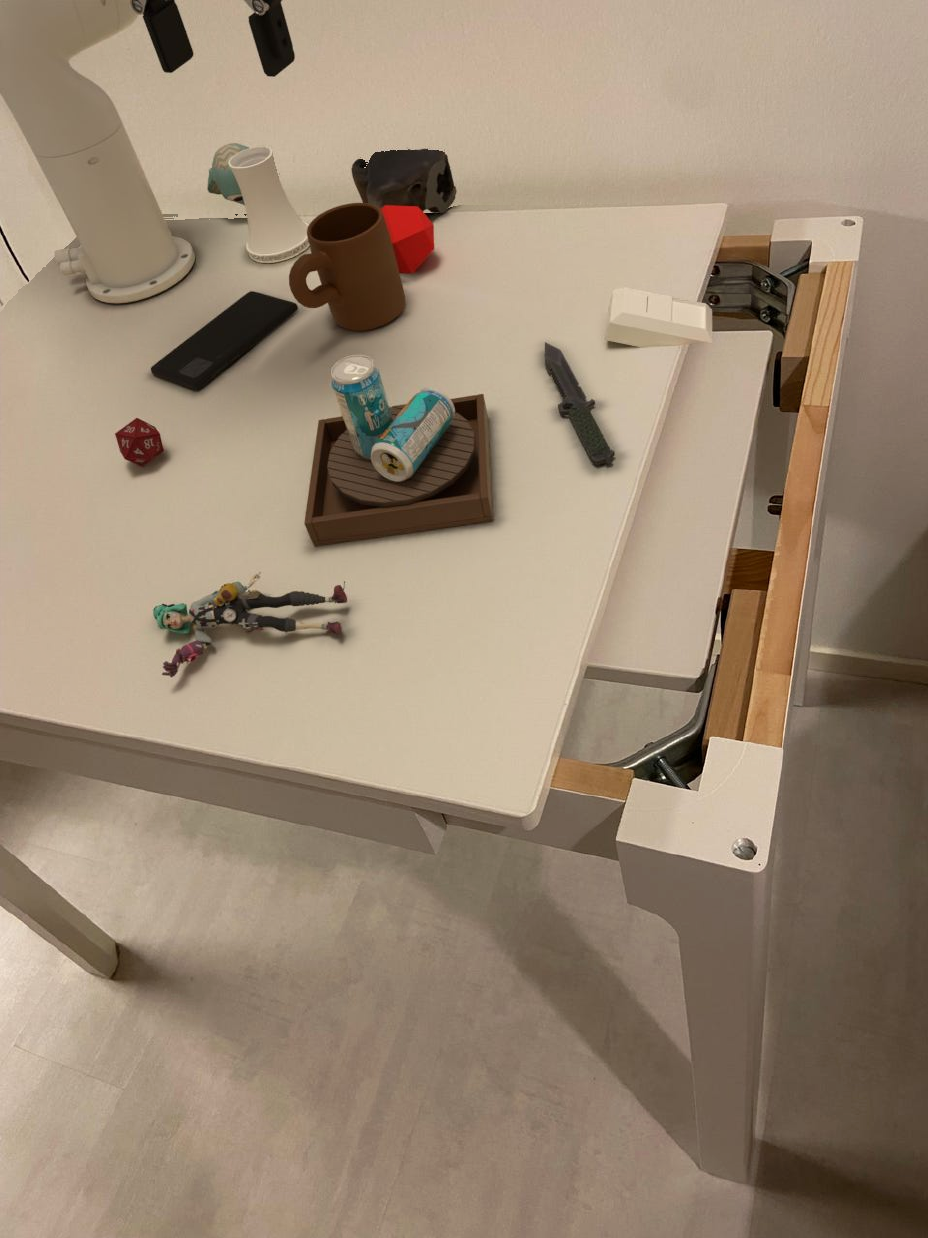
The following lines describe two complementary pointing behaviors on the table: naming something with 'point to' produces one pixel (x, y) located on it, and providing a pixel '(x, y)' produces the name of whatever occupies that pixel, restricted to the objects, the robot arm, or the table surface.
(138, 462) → the dice
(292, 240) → the vase
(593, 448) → the knife
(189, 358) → the smartphone
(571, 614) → the table surface
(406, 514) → the tray
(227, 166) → the stuffed animal
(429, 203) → the sculpture
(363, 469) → the blue cans and disc
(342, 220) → the mug
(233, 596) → the figurine
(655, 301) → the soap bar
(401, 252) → the red faceted polyhedron
